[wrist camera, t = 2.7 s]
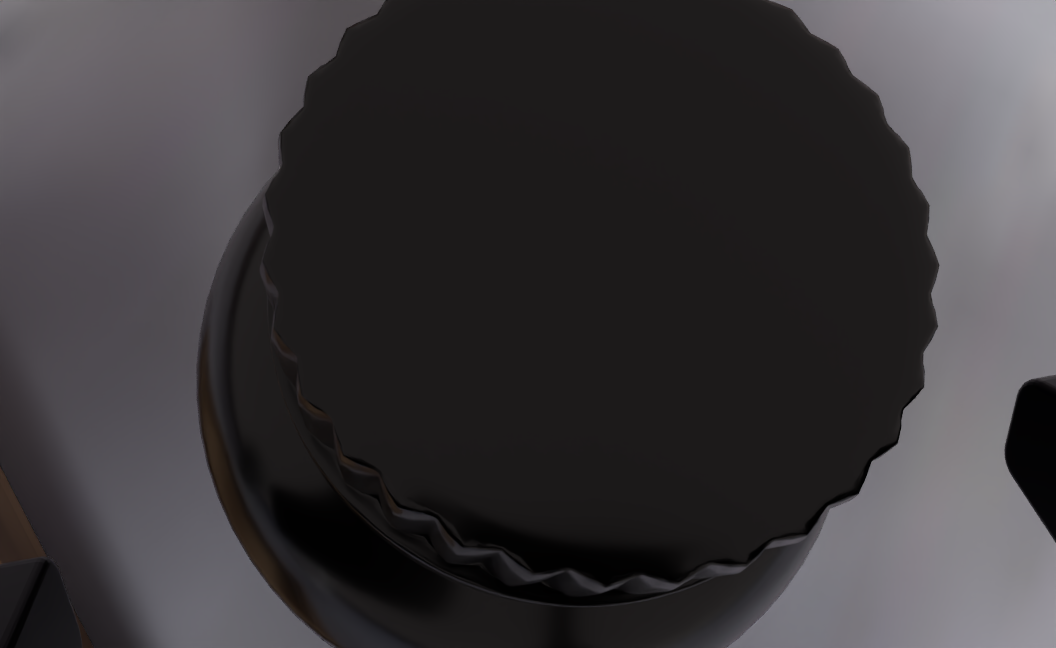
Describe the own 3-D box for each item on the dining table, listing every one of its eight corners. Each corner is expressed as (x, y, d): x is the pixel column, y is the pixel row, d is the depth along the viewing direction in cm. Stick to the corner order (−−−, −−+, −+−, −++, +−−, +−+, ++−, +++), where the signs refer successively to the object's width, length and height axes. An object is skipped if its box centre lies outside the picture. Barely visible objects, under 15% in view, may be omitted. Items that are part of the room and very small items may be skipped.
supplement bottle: (196, 445, 18) (-139, 92, 6) (496, 235, 20) (655, -321, 8) (434, 768, 17) (550, 1048, 5) (725, 512, 19) (1266, 310, 7)
